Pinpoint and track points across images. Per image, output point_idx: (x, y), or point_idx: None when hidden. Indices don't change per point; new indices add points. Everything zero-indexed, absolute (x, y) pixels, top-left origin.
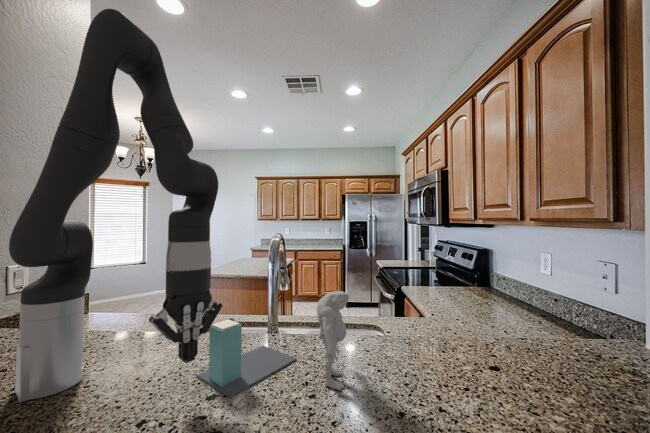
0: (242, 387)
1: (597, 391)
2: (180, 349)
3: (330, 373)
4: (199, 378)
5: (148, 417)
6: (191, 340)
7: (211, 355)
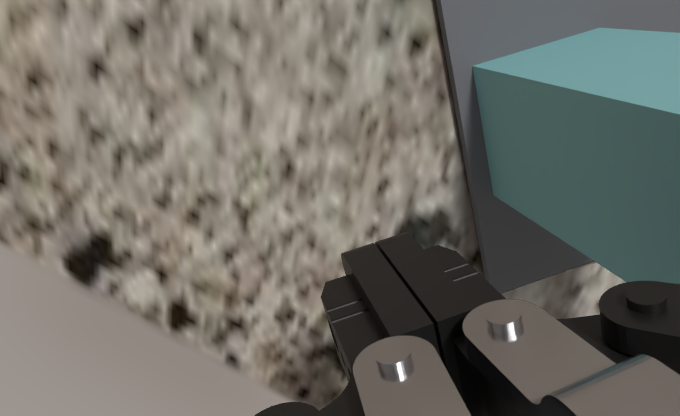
0: (563, 260)
1: None
2: (346, 369)
3: None
4: None
5: (123, 230)
6: (469, 407)
7: (565, 119)
